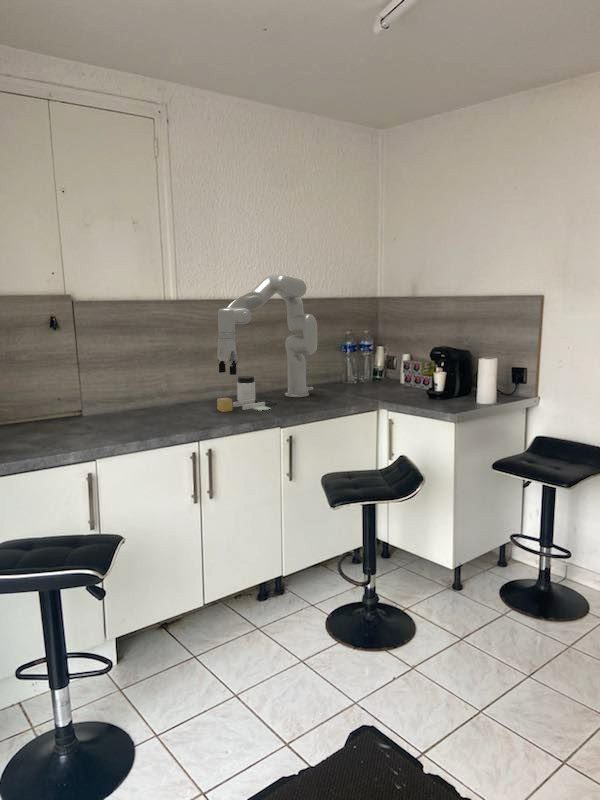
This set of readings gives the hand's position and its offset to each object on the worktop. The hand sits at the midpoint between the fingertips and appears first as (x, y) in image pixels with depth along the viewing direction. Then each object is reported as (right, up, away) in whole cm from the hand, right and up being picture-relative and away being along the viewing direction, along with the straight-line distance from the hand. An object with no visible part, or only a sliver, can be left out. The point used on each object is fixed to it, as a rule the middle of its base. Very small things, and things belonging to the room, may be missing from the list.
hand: (227, 373), depth 263 cm
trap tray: (+17, -14, +16) cm, 27 cm away
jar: (+6, -13, +25) cm, 29 cm away
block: (-1, -17, +2) cm, 17 cm away
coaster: (+15, -16, +4) cm, 23 cm away
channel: (+9, -15, +10) cm, 20 cm away
